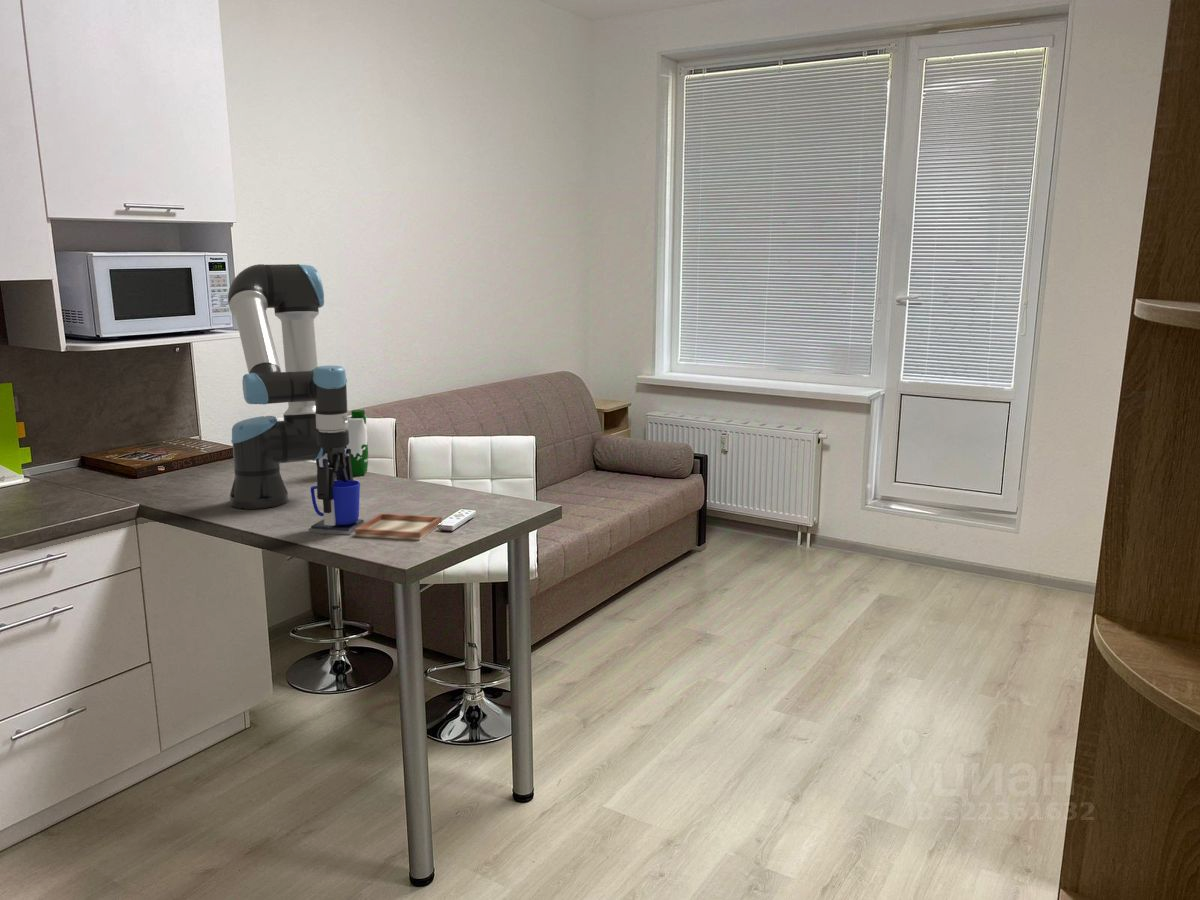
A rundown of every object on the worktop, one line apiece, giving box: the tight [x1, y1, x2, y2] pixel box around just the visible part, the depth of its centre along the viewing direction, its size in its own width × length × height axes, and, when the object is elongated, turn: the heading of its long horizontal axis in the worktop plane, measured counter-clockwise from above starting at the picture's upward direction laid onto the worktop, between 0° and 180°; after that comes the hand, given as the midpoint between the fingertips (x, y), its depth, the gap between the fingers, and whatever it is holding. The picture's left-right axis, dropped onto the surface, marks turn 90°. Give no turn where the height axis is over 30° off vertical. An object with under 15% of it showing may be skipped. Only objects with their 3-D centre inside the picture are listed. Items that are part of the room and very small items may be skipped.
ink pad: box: [308, 518, 366, 535], centre depth 227 cm, size 11×9×1 cm
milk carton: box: [344, 409, 369, 477], centre depth 285 cm, size 9×9×20 cm
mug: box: [310, 479, 361, 525], centre depth 225 cm, size 8×12×10 cm
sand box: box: [354, 512, 443, 541], centre depth 225 cm, size 17×15×2 cm
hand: (337, 520), depth 226 cm, fingers closed on mug, 7 cm apart
